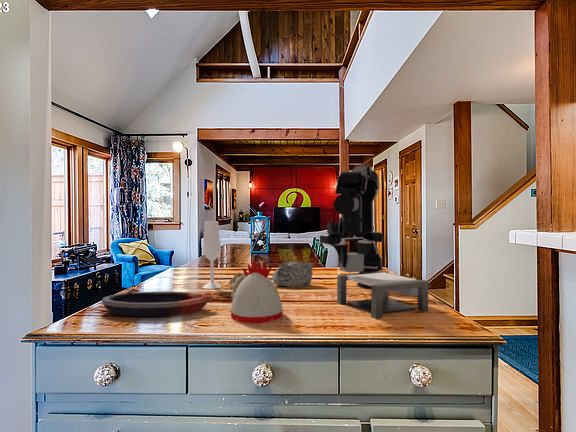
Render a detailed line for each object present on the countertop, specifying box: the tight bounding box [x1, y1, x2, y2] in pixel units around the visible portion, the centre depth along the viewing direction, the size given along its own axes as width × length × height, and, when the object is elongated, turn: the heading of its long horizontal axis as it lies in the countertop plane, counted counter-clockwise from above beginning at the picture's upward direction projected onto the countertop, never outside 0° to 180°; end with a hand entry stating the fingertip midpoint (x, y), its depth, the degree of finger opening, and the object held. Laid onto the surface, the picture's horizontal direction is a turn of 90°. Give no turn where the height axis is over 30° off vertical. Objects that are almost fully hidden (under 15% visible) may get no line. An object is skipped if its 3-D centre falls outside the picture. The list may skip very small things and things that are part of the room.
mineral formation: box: [229, 271, 246, 301], centre depth 128 cm, size 8×13×15 cm
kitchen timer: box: [230, 259, 283, 324], centre depth 106 cm, size 14×14×15 cm
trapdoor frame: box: [336, 270, 429, 320], centre depth 115 cm, size 18×19×8 cm
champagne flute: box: [201, 220, 222, 290], centre depth 143 cm, size 7×7×24 cm
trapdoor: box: [347, 272, 418, 297], centre depth 115 cm, size 18×14×5 cm
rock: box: [271, 261, 314, 288], centre depth 146 cm, size 16×8×10 cm, turn 84°
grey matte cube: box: [339, 252, 364, 273], centre depth 116 cm, size 5×5×5 cm
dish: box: [101, 290, 213, 318], centre depth 110 cm, size 16×31×5 cm, turn 88°
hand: (351, 266), depth 116 cm, fingers closed on grey matte cube, 5 cm apart
